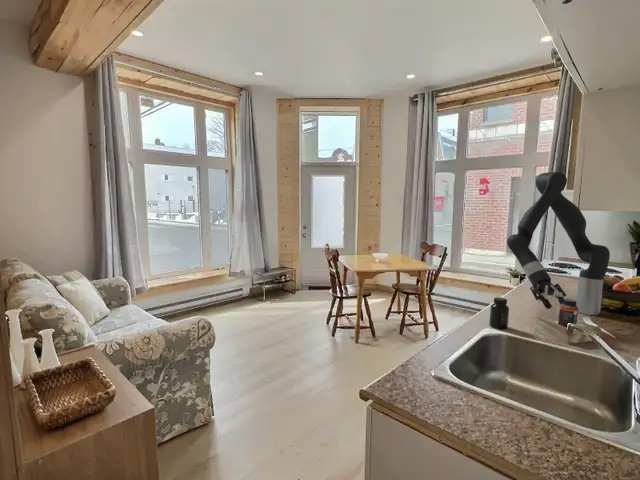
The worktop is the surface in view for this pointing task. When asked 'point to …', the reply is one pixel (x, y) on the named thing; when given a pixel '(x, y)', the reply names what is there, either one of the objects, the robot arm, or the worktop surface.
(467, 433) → the worktop surface
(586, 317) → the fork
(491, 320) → the supplement bottle
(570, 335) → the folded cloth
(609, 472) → the worktop surface
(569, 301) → the supplement bottle
